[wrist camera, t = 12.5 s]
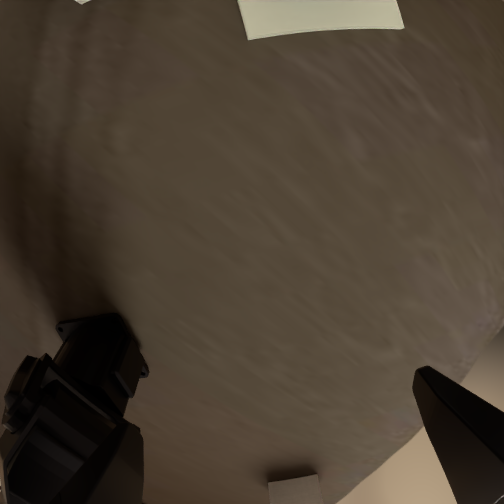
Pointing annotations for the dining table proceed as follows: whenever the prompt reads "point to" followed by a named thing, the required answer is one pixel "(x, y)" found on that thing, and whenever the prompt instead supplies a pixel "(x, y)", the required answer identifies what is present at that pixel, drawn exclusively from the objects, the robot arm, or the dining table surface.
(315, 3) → the mat
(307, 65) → the dining table surface
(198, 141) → the dining table surface
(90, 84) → the dining table surface
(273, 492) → the white faceted block
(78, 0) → the white u-shaped bracket
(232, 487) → the dining table surface
